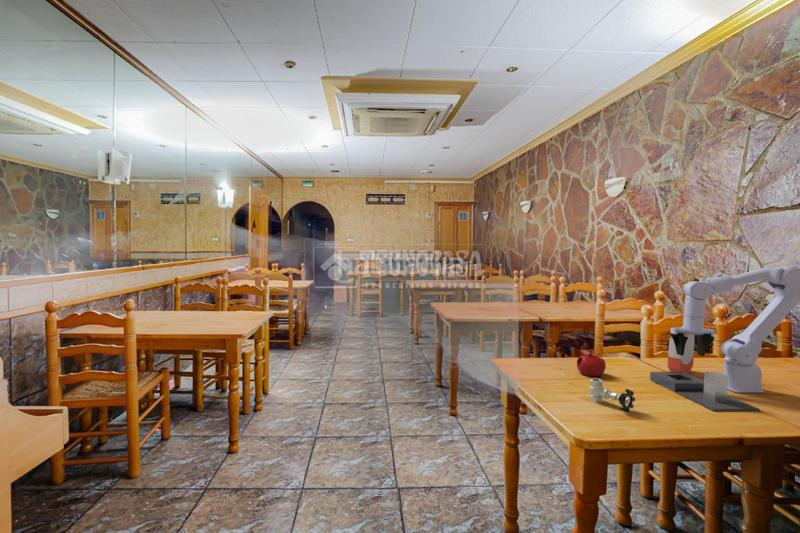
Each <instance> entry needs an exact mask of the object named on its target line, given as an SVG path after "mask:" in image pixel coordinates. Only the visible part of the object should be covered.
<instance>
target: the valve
mask: <svg viewBox="0 0 800 533" xmlns="http://www.w3.org/2000/svg"><path fill="white" fill-rule="evenodd" d="M603 383H604V380H603V379H600V378H596V377H592V378H590V384H589V387H588V392H589V401H590V402H593V403H596V404H598V403H599V404H602V403H603V399H605V400H608V399H612V400H614V401H618V402H619V404H620V405H621V407H620V411H622V412H625V413H630V411H631V409H634V407H635V405H634V404H633V402H635V401H636V398H635V397H634V395H635V391H634V390H631V389H628V388H626V389H625V390H624V391H625V392H626V393H624V392H622V393H621V394H620V395H619V394H617V393H615V392H611V389H609V388H604V384H603ZM626 404H627V405H626Z"/></svg>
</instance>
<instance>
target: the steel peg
mask: <svg viewBox="0 0 800 533" xmlns="http://www.w3.org/2000/svg"><path fill="white" fill-rule="evenodd" d="M703 373H704V374H703V376H704V378H703V380H704V394H703V397H705V398H707V399H709V400H711V401H714V402H727V395H728V389H727V387H728V376H727V375H725V374H724V373H722V372H718V371H703Z"/></svg>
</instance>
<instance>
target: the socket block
mask: <svg viewBox="0 0 800 533" xmlns="http://www.w3.org/2000/svg"><path fill="white" fill-rule="evenodd" d="M649 381H651V382H652V383H655V384H657V385H659V386H661V387H663V388H665V389H667V390H669V391H671V392H673V393H677V392H704V379H702V378H698V377H696V376H694V375H691V374H690V373H684V372H671V371H650V375H649Z"/></svg>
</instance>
